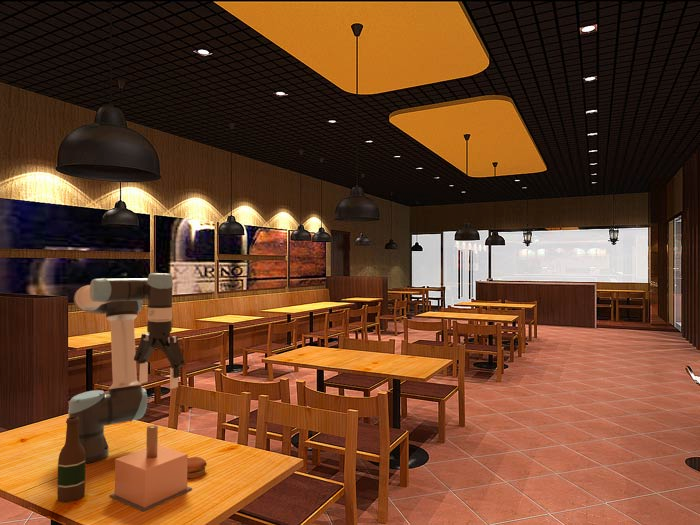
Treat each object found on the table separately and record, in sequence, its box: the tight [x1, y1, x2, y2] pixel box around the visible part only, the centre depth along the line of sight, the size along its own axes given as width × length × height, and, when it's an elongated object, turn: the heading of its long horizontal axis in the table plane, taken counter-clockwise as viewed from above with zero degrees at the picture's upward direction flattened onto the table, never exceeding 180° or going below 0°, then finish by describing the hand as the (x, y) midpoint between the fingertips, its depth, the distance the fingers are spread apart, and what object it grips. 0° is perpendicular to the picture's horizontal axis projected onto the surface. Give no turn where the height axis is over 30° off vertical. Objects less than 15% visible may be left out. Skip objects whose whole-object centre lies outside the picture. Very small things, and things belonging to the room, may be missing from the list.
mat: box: [109, 485, 193, 512], centre depth 152 cm, size 17×17×1 cm
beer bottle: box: [56, 417, 86, 503], centre depth 150 cm, size 8×8×24 cm
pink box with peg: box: [114, 424, 189, 507], centre depth 152 cm, size 15×15×20 cm
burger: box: [187, 456, 208, 479], centre depth 168 cm, size 10×9×5 cm
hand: (158, 385), depth 160 cm, fingers open, 13 cm apart
